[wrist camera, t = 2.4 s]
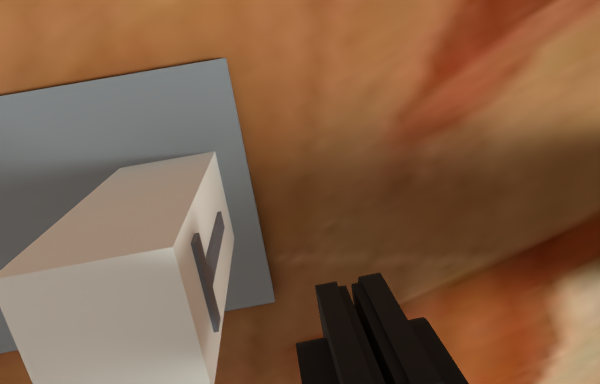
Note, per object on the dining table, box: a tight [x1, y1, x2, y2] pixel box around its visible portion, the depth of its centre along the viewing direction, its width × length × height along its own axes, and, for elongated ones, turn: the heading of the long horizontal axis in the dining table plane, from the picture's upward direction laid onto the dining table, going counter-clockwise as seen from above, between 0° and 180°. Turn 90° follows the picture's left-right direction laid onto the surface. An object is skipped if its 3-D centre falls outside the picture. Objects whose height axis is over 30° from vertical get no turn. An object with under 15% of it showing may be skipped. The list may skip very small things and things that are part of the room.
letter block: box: [0, 151, 234, 384], centre depth 19 cm, size 5×5×12 cm
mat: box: [0, 58, 275, 353], centre depth 25 cm, size 18×14×1 cm
